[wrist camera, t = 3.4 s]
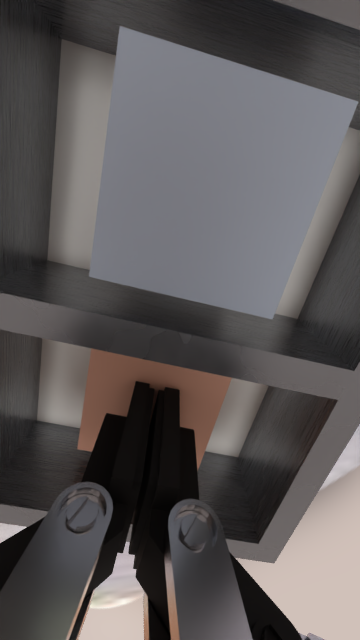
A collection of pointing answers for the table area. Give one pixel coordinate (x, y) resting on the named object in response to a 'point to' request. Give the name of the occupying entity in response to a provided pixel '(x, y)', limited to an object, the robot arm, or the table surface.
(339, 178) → the base
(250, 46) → the frame
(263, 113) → the key slate
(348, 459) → the table surface
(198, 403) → the key terracotta
